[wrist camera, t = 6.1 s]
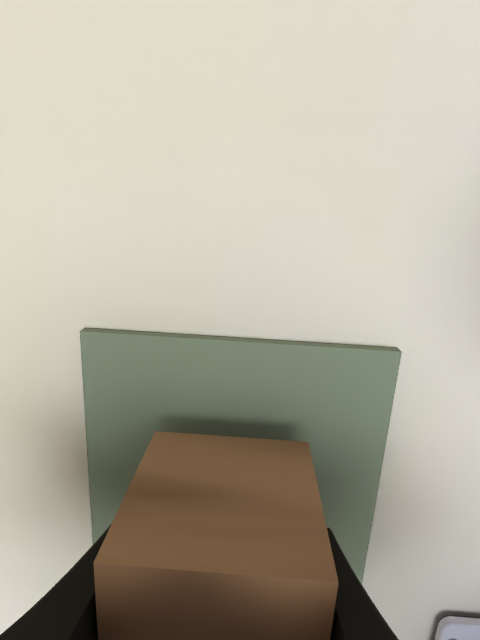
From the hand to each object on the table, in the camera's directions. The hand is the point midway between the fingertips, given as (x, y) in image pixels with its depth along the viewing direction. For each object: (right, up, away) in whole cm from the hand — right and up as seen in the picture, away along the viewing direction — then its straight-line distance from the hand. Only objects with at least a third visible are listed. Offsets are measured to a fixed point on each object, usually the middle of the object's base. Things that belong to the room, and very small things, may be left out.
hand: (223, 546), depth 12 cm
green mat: (0, +1, +3) cm, 3 cm away
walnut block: (0, +1, +2) cm, 2 cm away
